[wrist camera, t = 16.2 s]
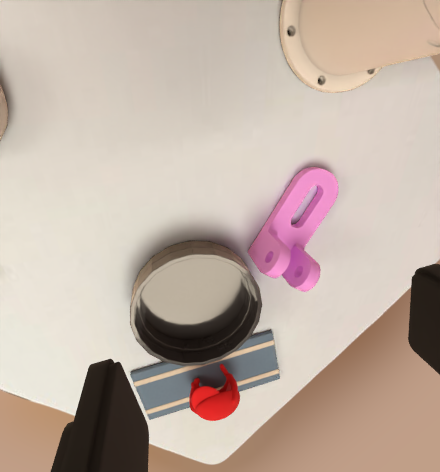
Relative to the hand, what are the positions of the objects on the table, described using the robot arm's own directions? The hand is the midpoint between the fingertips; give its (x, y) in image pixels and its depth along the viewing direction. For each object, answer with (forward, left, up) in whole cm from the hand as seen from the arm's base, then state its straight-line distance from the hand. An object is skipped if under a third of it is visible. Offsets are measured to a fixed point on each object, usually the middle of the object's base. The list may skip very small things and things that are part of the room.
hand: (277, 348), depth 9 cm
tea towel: (+4, +28, -26) cm, 38 cm away
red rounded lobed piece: (+4, +27, -26) cm, 38 cm away
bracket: (-11, +7, -26) cm, 30 cm away
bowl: (+3, +14, -26) cm, 30 cm away
